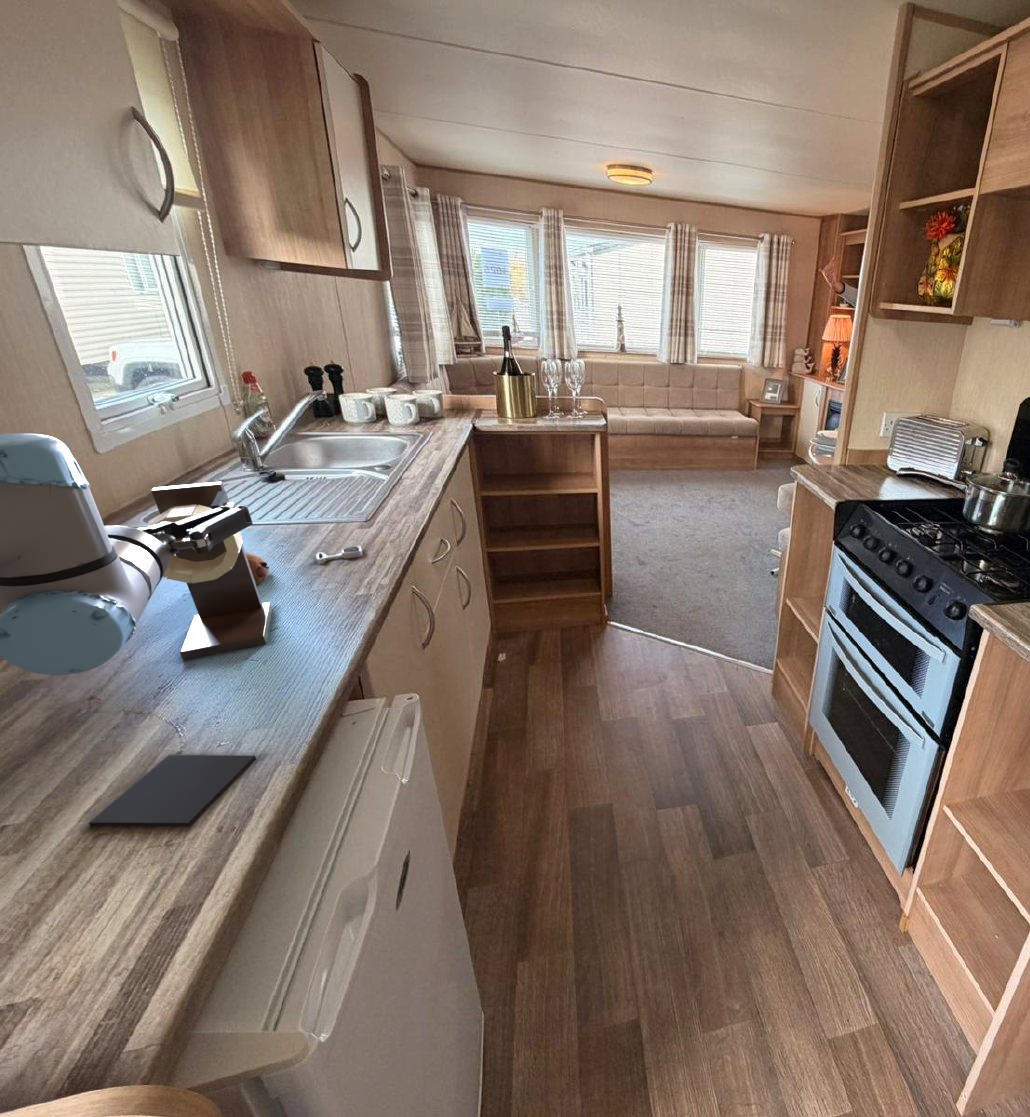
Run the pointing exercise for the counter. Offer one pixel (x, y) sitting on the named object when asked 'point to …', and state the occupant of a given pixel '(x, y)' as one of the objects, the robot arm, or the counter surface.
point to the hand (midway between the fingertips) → (157, 507)
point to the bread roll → (257, 567)
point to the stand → (218, 588)
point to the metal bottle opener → (340, 554)
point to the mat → (174, 791)
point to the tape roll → (204, 569)
